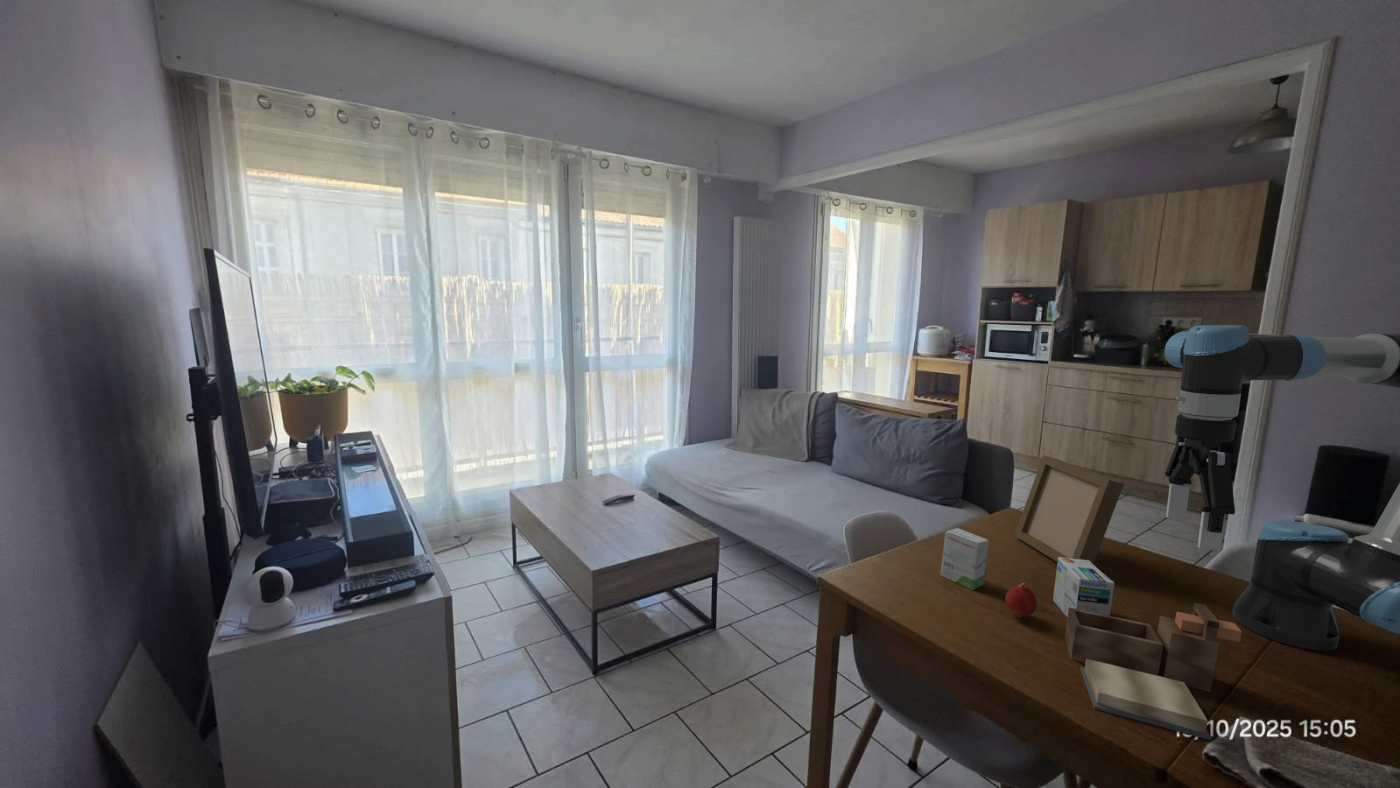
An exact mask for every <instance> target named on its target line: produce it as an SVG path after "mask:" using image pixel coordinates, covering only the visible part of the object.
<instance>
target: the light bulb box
mask: <svg viewBox="0 0 1400 788" xmlns="http://www.w3.org/2000/svg"><path fill="white" fill-rule="evenodd" d="M1055 574H1056V575H1055V580H1054V588H1053V589H1054V590H1053V598H1052V601H1053V602H1054V603H1055V605H1056V606H1057V608H1059V609H1060V610H1061V612H1062V613H1063V615H1065V617H1066V618H1067V617H1068V610H1069V608H1074V609H1079V610H1084V611H1088V612H1093V613H1098V614H1103V615H1108V616H1111V610H1112V605H1113V597H1114V590H1115V582H1114V581H1113V580H1112V579H1111V578H1109V577H1108V576H1107V575H1106V574H1104V573H1103V572H1102V570H1100V569H1099V568H1098V567H1097V566H1096V565H1095V564H1092V563H1091V562H1090V561H1089V560H1080V559H1070V558H1063V557H1058V562H1057V566H1056V573H1055Z"/></svg>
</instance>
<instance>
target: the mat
mask: <svg viewBox="0 0 1400 788" xmlns="http://www.w3.org/2000/svg"><path fill="white" fill-rule="evenodd" d="M1080 671H1081V675H1082V679H1083V680H1084V684H1085V686H1086V690H1087V693H1088V696H1089V697H1090V701H1091V704H1092V708H1093V709H1095V710H1098V711H1101V712H1105V713H1108V714H1111V715H1114V716H1115V715H1116V716H1118V717H1119V716H1120V717H1123V718H1127V719H1130V720H1135V721H1139V722H1141V723H1145V724H1150V725H1153V726H1156V727H1159V728H1164V729H1168V730H1171V731H1175V732H1180V733H1183V734H1186V735H1190V736H1193V737H1197V738H1201V739H1204V740H1208V741H1212V738H1213V737H1212V735H1211V734H1210V732H1209V731H1208V729H1207V728H1206V732H1205V733H1203V732H1199V731H1196V730H1192V729H1188V728H1184V727H1181V726H1177V725H1173V724H1169V723H1166V722H1162V721H1158V720H1154V719H1151V718H1147V717H1143V716H1140V715H1136V714H1132V713H1128V712H1125V711H1121V710H1117V709H1113V708H1110V707H1106V706H1102V705H1098V704H1097V703H1096V700H1095V697H1094V694H1093V692H1092V689H1091V686H1090V683H1089V681H1088V678H1087V675H1086V672H1085V666H1084V667H1083V666H1080Z"/></svg>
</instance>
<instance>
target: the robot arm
mask: <svg viewBox="0 0 1400 788" xmlns="http://www.w3.org/2000/svg"><path fill="white" fill-rule="evenodd" d="M1164 358H1165V359H1166V361H1167V362H1168V363H1169V365H1171V366H1173V367H1175V368H1180V369H1182V370H1181V378H1180V379H1181V380H1180V390H1179V395H1177V396H1175V400H1176V401H1177V402H1178V407H1177V411H1178V412H1180V414H1178V415H1176V419H1175V421H1176V422H1175V427H1174V428H1175V429H1174V433H1175V435H1176V440H1175V442H1176V443H1175V446H1174V449H1173V452H1172V454H1171V457H1170V458H1169V461H1168V465H1167V467H1166V470H1165V473H1164V474H1165V476H1166V478H1167V477H1168V482H1169V486H1168V487H1169V488H1168V489H1169V490H1168V497H1167V504H1166V505H1167V506H1166V514H1165V517H1166V518H1167V519H1176V520H1187V511H1188V505H1189V504H1188V503H1189V496H1190V488H1191V486H1190V485H1193V482H1192V477H1193V476H1194V474H1195V475H1198V478H1199V482H1200V487H1201V491H1202V497H1203V501H1204V506H1203V507H1201V508H1200V512H1201V516H1200V517H1201V519H1200V524H1199V533H1198V540H1197V547H1198V548H1199V549H1205V550H1212V551H1222V550H1221V549H1222V543H1223V534H1224V528H1225V522H1226V516H1227V515H1235V513H1236V507H1235V498H1234V490H1233V489H1234V488H1233V477H1232V470H1231V466H1232V454H1231V452H1225V451H1224V452H1223V451H1222V452H1221V445H1222V444H1223V443H1230V442H1232V441H1233V440H1235V437H1236V435H1235V434H1236V429H1237V421H1236V420H1235V418H1236V417H1238V415H1239V413H1240V412H1239V410H1240V403H1241V397H1242V387H1243V386H1242V385H1243V382H1247V381H1285V382H1288V381H1292V380H1302V379H1308V378H1311V377H1327V378H1328V377H1331V378H1347V379H1348V380H1350V381H1351V382H1354V383H1357V384H1358V383H1359V384H1365V385H1366V384H1368V385H1369V384H1370V385H1379V386H1383V387H1391V388H1397V389H1400V333H1399V332H1398V333H1364V334H1360V335H1358V336H1355V337H1336V336H1335V337H1334V336H1314V335H1311V336H1310V335H1304V334H1303V335H1301V334H1268V333H1267V334H1266V333H1265V334H1263V333H1250V330H1249V328H1248V327H1247V326H1245V325H1235V324H1232V325H1231V324H1229V325H1228V324H1227V325H1226V324H1225V325H1224V324H1214V325H1212V324H1210V325H1209V324H1207V325H1205V324H1204V325H1203V324H1202V325H1195V326H1192V327H1191V328H1189V329H1188V330H1186V331H1180V332H1178V333H1175V334H1174V335H1172V336H1171V337H1170V338H1169V339H1168V341H1167V342H1166V344H1165V347H1164ZM1386 504H1387V505H1386V507H1385V508H1384V510H1383V512H1382V513H1381V515H1380V517H1379V519H1378V521H1377V523H1376V524H1375V526H1374V528H1373V530H1372V531H1371V532H1369V534H1363V535H1362V534H1361V535H1358V536H1354V538H1353V539H1352V541H1350V539H1349V535H1348V534H1347V533H1346V532H1345V531H1343V530H1340V529H1337V528H1334V527H1329V526H1326V525H1320V524H1315V523H1308V522H1300V521H1294V520H1293V521H1291V520H1270V521H1266V522H1265V523H1264V524H1262V526H1261V529H1260V532H1259V536H1258V537H1257V543H1256V548H1255V553H1254V561H1253V566H1252V571H1251V578H1250V582H1249V584H1248V586H1247V587H1246V588H1245V589H1244V591H1243V592H1242V593H1241V594H1240V596H1239V597H1238V598H1237V599H1236V601H1235V602H1234V603H1233V607H1232V612H1231V615H1232V617H1233V618H1234V620H1236V621H1237V622H1238V623H1239V624H1240V625H1242V626H1244V627H1245V628H1246V629H1248V630H1250V631H1252V632H1254V633H1256V634H1258V635H1260V636H1263V637H1265V638H1267V639H1270V640H1273V641H1275V642H1279V643H1282V644H1285V645H1288V646H1290V647H1291V646H1292V647H1296V648H1300V649H1304V650H1309V651H1318V652H1331V651H1334V650H1337V649H1338V646H1339V642H1340V632H1339V627H1338V624H1337V620H1336V616H1335V612H1334V608H1333V606H1335V607H1337V608H1339V609H1341V610H1344V611H1345V612H1347V613H1350V614H1351V615H1354V616H1357V617H1358V618H1360V619H1362V620H1363V621H1365V622H1366V623H1368V624H1371V625H1374V626H1377V627H1379V628H1382V629H1383V630H1386V631H1388V632H1391V633H1394V634H1397V635H1400V482H1399V484H1398V485H1397V487H1396V489H1395V490H1394V492H1393V494H1392V496H1391V497H1390V499H1389V501H1388V503H1386ZM1348 542H1350V544H1348Z"/></svg>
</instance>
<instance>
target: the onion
mask: <svg viewBox="0 0 1400 788" xmlns="http://www.w3.org/2000/svg"><path fill="white" fill-rule="evenodd" d="M1004 599H1005V600H1004V601H1005V604H1006V606H1007V608H1008V609H1009V610H1010V611H1011V612H1012V613H1013V614H1014V615H1015V616H1016V617H1017V618H1018V619H1022V618H1025V617H1027V616H1030V615H1032V614H1033V613H1035V611H1036V610H1037V607H1038V601H1037V599H1036V595H1035V594H1034V593H1033V591H1031V589H1030V588H1028V587H1027V584H1026V583H1024V582H1022V583H1021V584H1020V583H1019V584H1017V585H1014V586H1012V587H1011V588H1010V589H1009V590H1007V592H1006V593H1005V598H1004Z"/></svg>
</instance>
